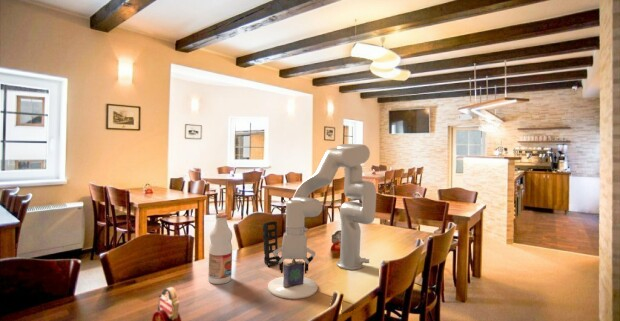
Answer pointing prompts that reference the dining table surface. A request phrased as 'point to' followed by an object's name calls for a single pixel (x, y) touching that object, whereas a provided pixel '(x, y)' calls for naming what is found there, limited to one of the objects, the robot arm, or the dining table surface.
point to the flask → (293, 274)
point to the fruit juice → (220, 251)
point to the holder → (266, 243)
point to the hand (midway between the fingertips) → (293, 272)
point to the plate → (292, 288)
